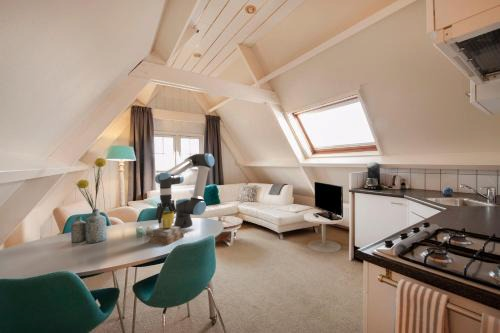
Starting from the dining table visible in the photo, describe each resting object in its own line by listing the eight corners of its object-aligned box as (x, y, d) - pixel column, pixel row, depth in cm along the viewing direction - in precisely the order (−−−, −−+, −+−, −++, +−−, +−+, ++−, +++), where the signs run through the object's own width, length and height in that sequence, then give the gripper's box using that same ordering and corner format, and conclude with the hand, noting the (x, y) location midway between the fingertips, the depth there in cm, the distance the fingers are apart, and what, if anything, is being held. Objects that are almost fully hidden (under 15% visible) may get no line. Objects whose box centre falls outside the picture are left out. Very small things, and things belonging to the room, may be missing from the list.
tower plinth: (166, 234, 168) (166, 224, 168) (183, 237, 162) (183, 226, 161) (149, 242, 153) (149, 230, 153) (167, 245, 147) (167, 233, 147)
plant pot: (174, 227, 154) (174, 213, 154) (158, 229, 150) (158, 215, 150) (174, 223, 164) (173, 210, 164) (159, 225, 160) (158, 212, 160)
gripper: (173, 191, 168) (173, 220, 169) (148, 196, 147) (149, 229, 148) (180, 192, 165) (181, 221, 166) (157, 197, 144) (158, 230, 145)
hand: (166, 225), depth 157 cm, fingers closed on plant pot, 10 cm apart
